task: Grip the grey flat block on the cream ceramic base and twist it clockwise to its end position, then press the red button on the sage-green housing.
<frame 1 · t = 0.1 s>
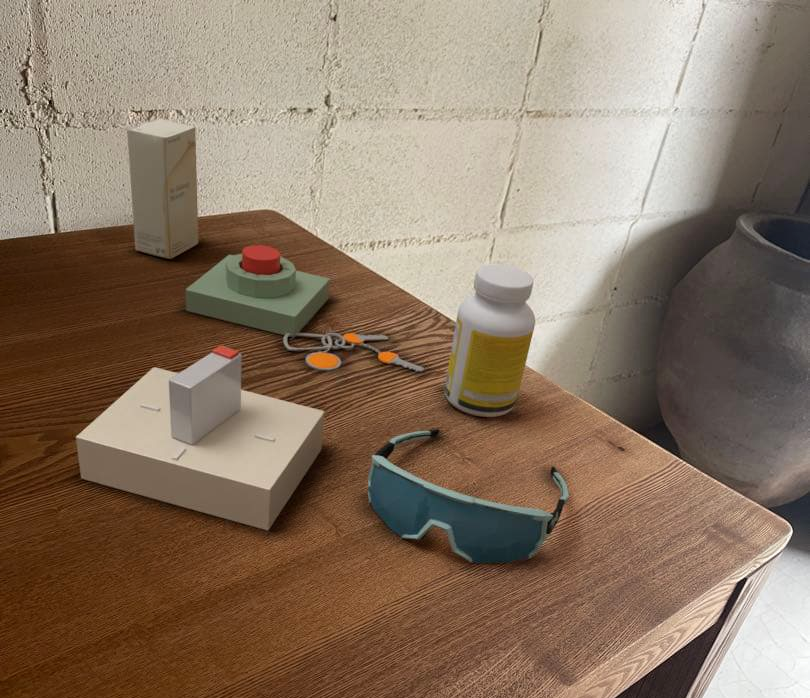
cosmetic box: (167, 249, 93), on the table
key chain: (352, 356, 80), on the table
pill bottle: (478, 402, 76), on the table
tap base: (207, 463, 64), on the table
grey flat block: (206, 393, 60), point 6 cm above the table, hinge at 80.0°
button: (261, 261, 82), point 4 cm above the table, slide at 0.1 cm
sunglasses: (465, 501, 65), on the table
button box: (259, 304, 85), on the table
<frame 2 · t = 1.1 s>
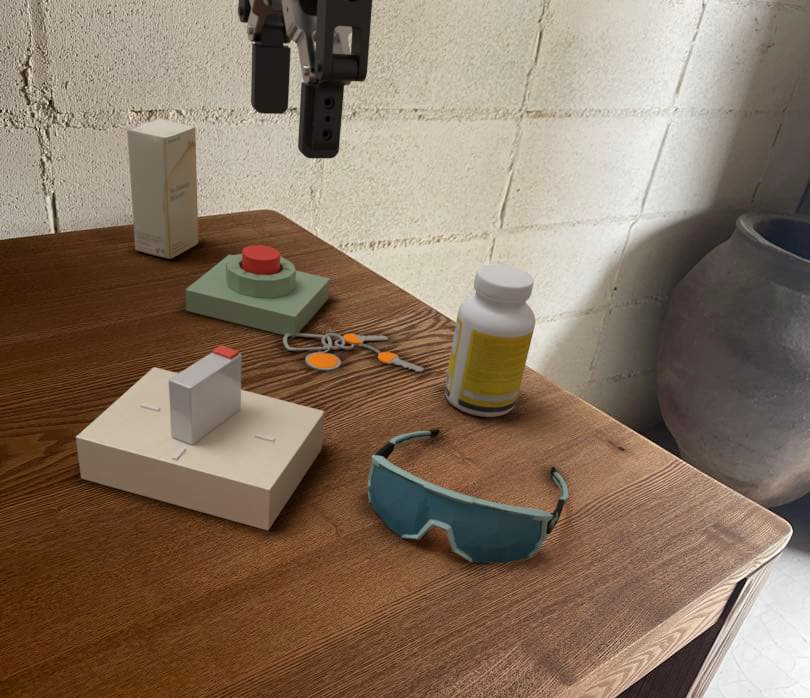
hand: (292, 133, 51), 23 cm above the table, tool pointing down, fingers open, 8 cm apart
nothing on the table moved.
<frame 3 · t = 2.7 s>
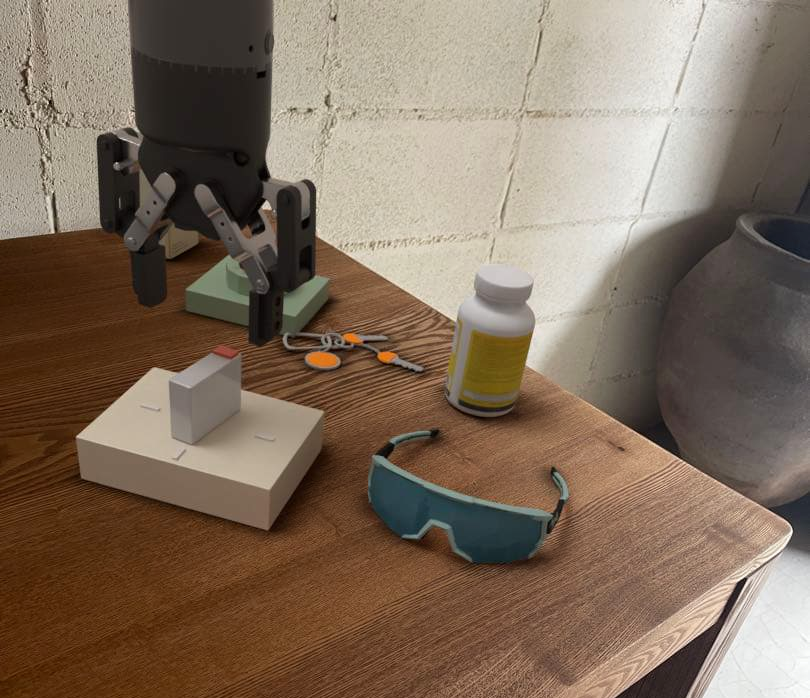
hand: (207, 322, 57), 11 cm above the table, tool pointing down, fingers open, 8 cm apart
key chain: (351, 355, 80), on the table, touching button box
everything else where it was.
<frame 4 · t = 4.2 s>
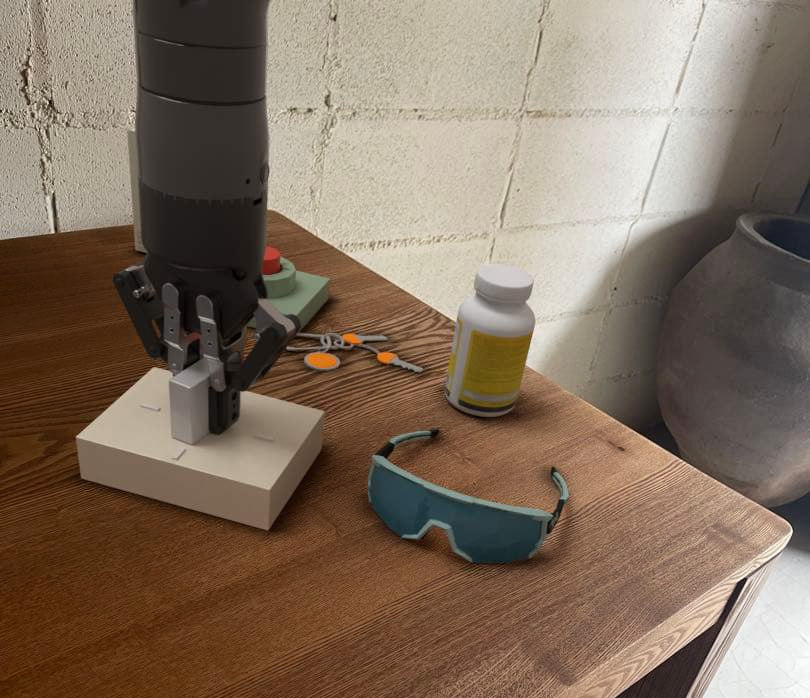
hand: (207, 422, 61), 4 cm above the table, tool pointing down, fingers closed on grey flat block, 2 cm apart
key chain: (351, 356, 80), on the table
grey flat block: (206, 393, 60), point 6 cm above the table, hinge at 80.1°, touching gripper
everything else where it was.
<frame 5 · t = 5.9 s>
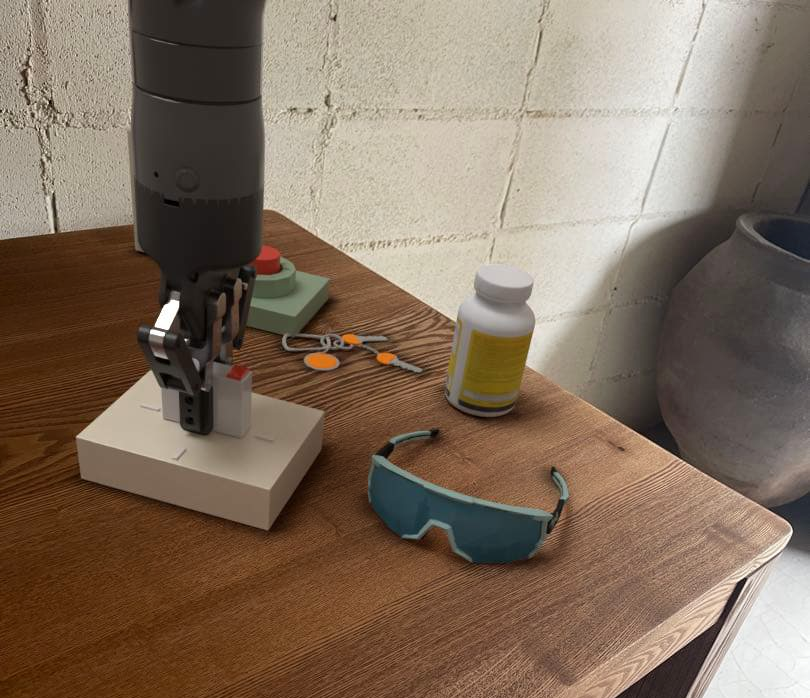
hand: (204, 421, 61), 4 cm above the table, tool pointing down, fingers closed, pressing on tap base, grey flat block
grey flat block: (206, 393, 60), point 6 cm above the table, hinge at 0.9°, touching gripper
everything else where it was.
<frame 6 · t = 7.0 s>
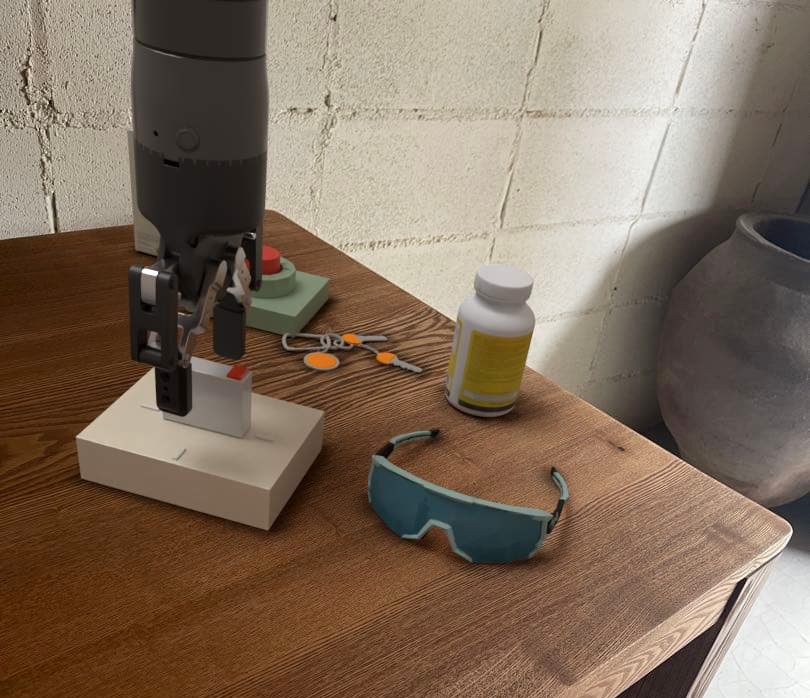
hand: (203, 382, 59), 7 cm above the table, tool pointing down, fingers open, 8 cm apart
grey flat block: (206, 393, 60), point 6 cm above the table, hinge at 0.8°
everything else where it was.
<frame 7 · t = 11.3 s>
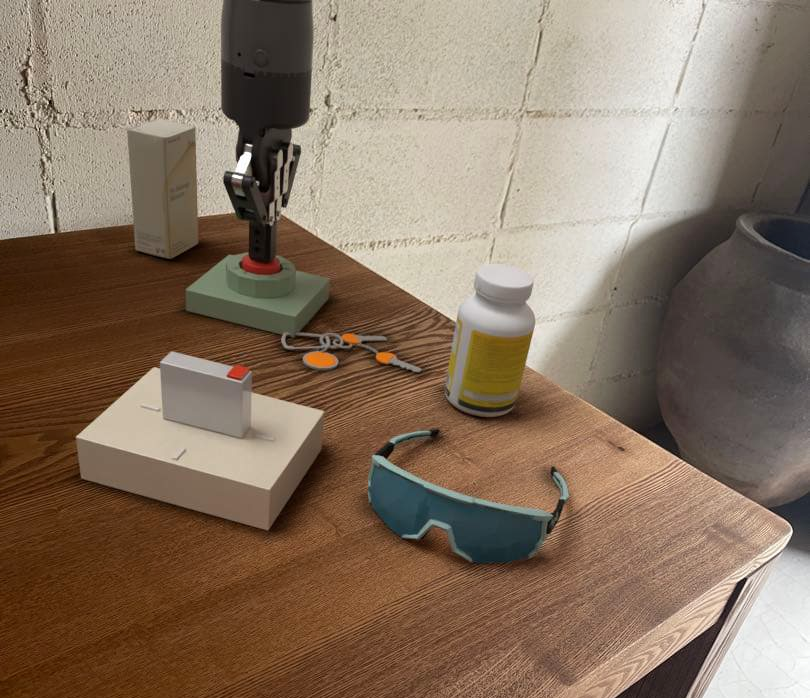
hand: (262, 259, 82), 5 cm above the table, tool pointing down, fingers closed
key chain: (349, 355, 80), on the table, touching button box
button: (260, 268, 83), point 4 cm above the table, slide at -0.7 cm, touching gripper
everything else where it was.
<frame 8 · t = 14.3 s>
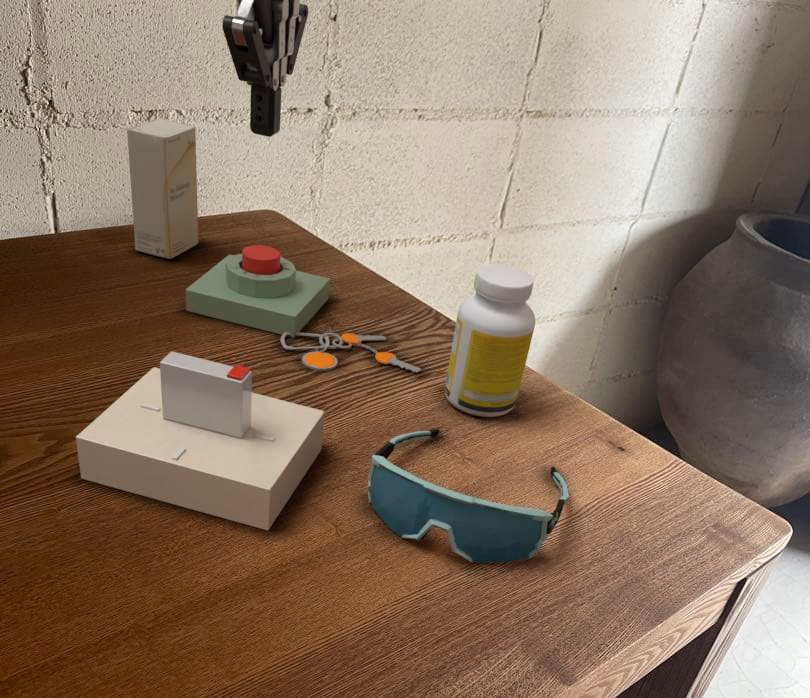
hand: (264, 133, 75), 16 cm above the table, tool pointing down, fingers closed
button: (261, 261, 82), point 4 cm above the table, slide at 0.1 cm
everything else where it was.
at the end: grey flat block at +1° (first picture: +80°); button pushed in 1.1 cm at the most during the clip, back to where it started at the end; button slide at 0.1 cm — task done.
